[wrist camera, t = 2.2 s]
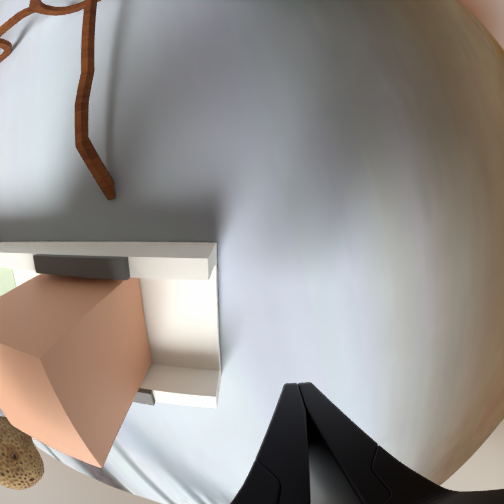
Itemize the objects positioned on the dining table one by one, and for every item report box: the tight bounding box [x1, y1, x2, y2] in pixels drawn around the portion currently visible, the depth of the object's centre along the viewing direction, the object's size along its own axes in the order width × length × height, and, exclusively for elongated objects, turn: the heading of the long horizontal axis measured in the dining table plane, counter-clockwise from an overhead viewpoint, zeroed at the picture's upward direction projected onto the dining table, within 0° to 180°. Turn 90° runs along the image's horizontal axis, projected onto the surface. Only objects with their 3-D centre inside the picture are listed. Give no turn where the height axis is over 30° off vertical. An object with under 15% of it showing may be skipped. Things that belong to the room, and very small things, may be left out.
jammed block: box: [0, 274, 152, 468], centre depth 8 cm, size 5×5×7 cm
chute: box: [0, 242, 221, 408], centre depth 11 cm, size 18×7×3 cm, turn 89°
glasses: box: [0, 0, 115, 200], centre depth 8 cm, size 13×13×5 cm
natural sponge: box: [0, 416, 44, 490], centre depth 12 cm, size 9×9×10 cm
